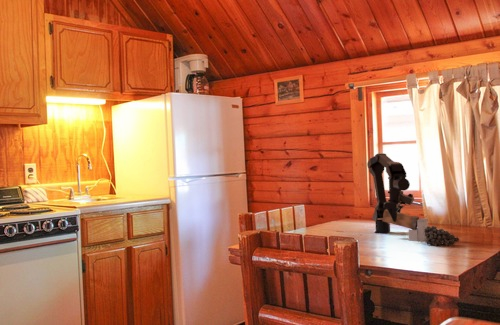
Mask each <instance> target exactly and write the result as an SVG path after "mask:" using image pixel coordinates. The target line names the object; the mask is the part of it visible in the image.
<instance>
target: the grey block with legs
mask: <svg viewBox="0 0 500 325" xmlns="http://www.w3.org/2000/svg"><path fill="white" fill-rule="evenodd" d="M428 220H429V218H427V217H426V218H425V217H424V218H423V217H421V218H420V217H419V219H418V220H417V229H416V230H413V229H408V241H411V242H426V240H425V239H426V236H425V232H424V229H425V228H427V227H428V226H429V225H428V224H429V222H428Z"/></svg>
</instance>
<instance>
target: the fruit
mask: <svg viewBox="0 0 500 325" xmlns="http://www.w3.org/2000/svg"><path fill="white" fill-rule="evenodd" d="M424 232H425V236H426V239H425V240H426V241H425V243H426V244H427V245H430V246H432V245H433V246H434V247H436V246H441V245H448V246H449V247H450V246H452V245H455V244H456V243H457V242H459V241H460V238H459V237H458V236H457V237H456V236H455V235H454V234H451V233H450V232H449V231H448V230H446V231H445V230H444V229H443V228H440V229H439V228H438V229H437V226H434V225H432V226H429V225H428V227H427V228H425V229H424Z"/></svg>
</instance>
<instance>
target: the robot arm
mask: <svg viewBox="0 0 500 325" xmlns="http://www.w3.org/2000/svg"><path fill="white" fill-rule="evenodd" d="M366 166H367V168H368V172H369V174H371V176H372V178H373V184H374V185H373V186H374V190H375V191H374V192H375V197H376V205H375V206H374V212H373V214H372V221H374V222H375V231H374V233H375V234H388V233H391V223H388V222H384V221H382V219H383V214H384V210H386V209H387V210H388V211H389V213H390V215H391V217H392V219H393V221H394V222H396V218H397V212H399V213H401V211H402V209H403V208H404V207H405V205H408V206H411V205H413V203H414V201H415V197H414V194H412V193H409V194H405V193H404V191H407V190H408V189H409V188H410V180H409V179H407V171H406V170H405V168H404V165H403V164H402V162H399V161H394V160H392V159H391V158H390V157H389V156H388V155H387V154H386V153H385V152H384V153H383V152H382V153H376V154H375V155H374V156H372V157H371V158H369V160H368V161H367V165H366ZM384 171H385V172H386V174H387V175H388V177H387V179H388V191H387V194H388V195H389V196H388V198H389V199H387V197H386V192H385V183H384V177H383V173H384Z"/></svg>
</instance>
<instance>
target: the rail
mask: <svg viewBox="0 0 500 325" xmlns="http://www.w3.org/2000/svg"><path fill="white" fill-rule="evenodd" d="M381 219H382V221H384V222H388V223H390V224H392V225H395V226H399V227H403V228H407V229H409V230H412V229H413V230H416V229H417V220H418V219H420V216H417V215H409V214H406V213H402V212H400V213H399V212H397V218H396V222H394V221H393V219H392V217H391V215H390V213H389V211H388V210H387V209H386V210H384V214H383V218H381Z"/></svg>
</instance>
